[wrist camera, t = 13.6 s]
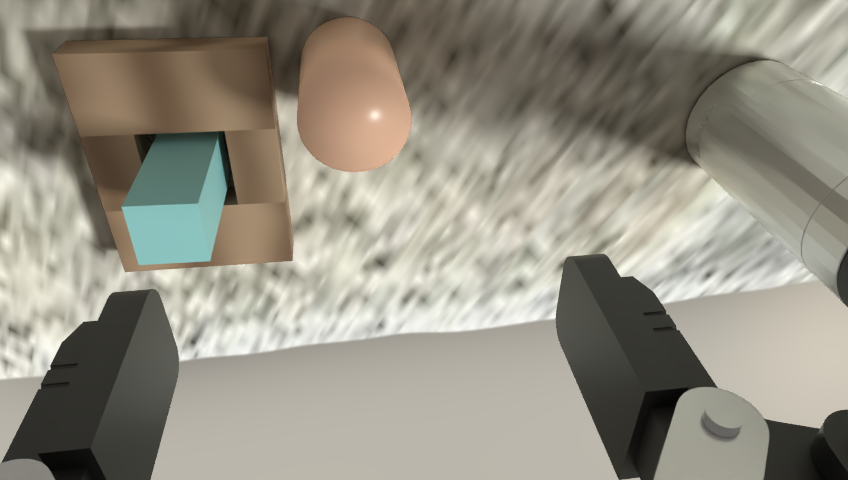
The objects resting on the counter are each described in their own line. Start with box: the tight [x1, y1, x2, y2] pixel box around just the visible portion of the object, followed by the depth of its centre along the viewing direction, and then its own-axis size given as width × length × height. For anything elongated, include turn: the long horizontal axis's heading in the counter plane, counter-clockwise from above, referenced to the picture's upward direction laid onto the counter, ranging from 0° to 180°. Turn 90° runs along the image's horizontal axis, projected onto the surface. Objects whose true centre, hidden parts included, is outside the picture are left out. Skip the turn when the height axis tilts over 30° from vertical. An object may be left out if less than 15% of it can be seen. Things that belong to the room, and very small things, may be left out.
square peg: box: [122, 131, 230, 265], centre depth 39 cm, size 4×4×10 cm
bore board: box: [52, 37, 294, 272], centre depth 42 cm, size 12×16×2 cm
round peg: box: [297, 17, 411, 172], centre depth 37 cm, size 6×6×9 cm
